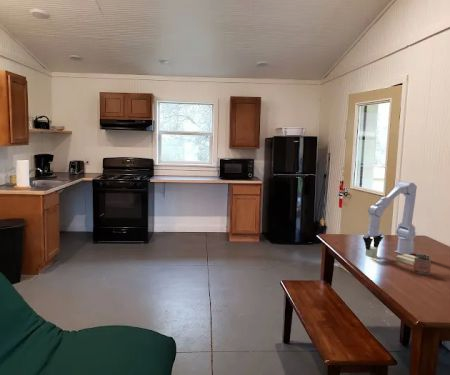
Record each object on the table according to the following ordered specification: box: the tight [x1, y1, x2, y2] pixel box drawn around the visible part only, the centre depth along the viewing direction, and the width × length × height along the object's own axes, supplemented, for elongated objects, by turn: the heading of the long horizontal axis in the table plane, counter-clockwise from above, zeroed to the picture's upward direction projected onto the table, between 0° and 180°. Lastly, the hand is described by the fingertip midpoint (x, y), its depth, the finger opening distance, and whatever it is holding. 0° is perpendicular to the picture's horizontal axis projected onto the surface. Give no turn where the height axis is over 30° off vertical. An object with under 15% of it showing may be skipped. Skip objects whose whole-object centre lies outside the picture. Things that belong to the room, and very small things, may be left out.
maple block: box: [395, 254, 416, 267], centre depth 220 cm, size 10×10×3 cm
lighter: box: [412, 252, 433, 275], centre depth 201 cm, size 8×3×10 cm, turn 71°
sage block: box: [365, 245, 379, 258], centre depth 228 cm, size 4×4×5 cm
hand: (371, 248), depth 227 cm, fingers open, 7 cm apart
